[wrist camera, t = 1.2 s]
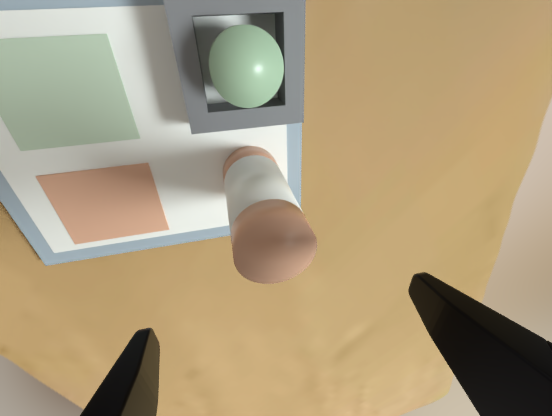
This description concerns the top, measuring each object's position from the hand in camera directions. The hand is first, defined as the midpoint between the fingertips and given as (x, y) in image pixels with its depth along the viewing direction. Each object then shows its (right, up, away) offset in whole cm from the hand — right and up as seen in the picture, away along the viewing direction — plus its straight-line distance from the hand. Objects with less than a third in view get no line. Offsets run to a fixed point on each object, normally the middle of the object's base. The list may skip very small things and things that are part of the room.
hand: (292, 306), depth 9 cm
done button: (-2, +10, +4) cm, 11 cm away
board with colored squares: (-8, +7, +7) cm, 13 cm away
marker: (-2, +6, +9) cm, 11 cm away
